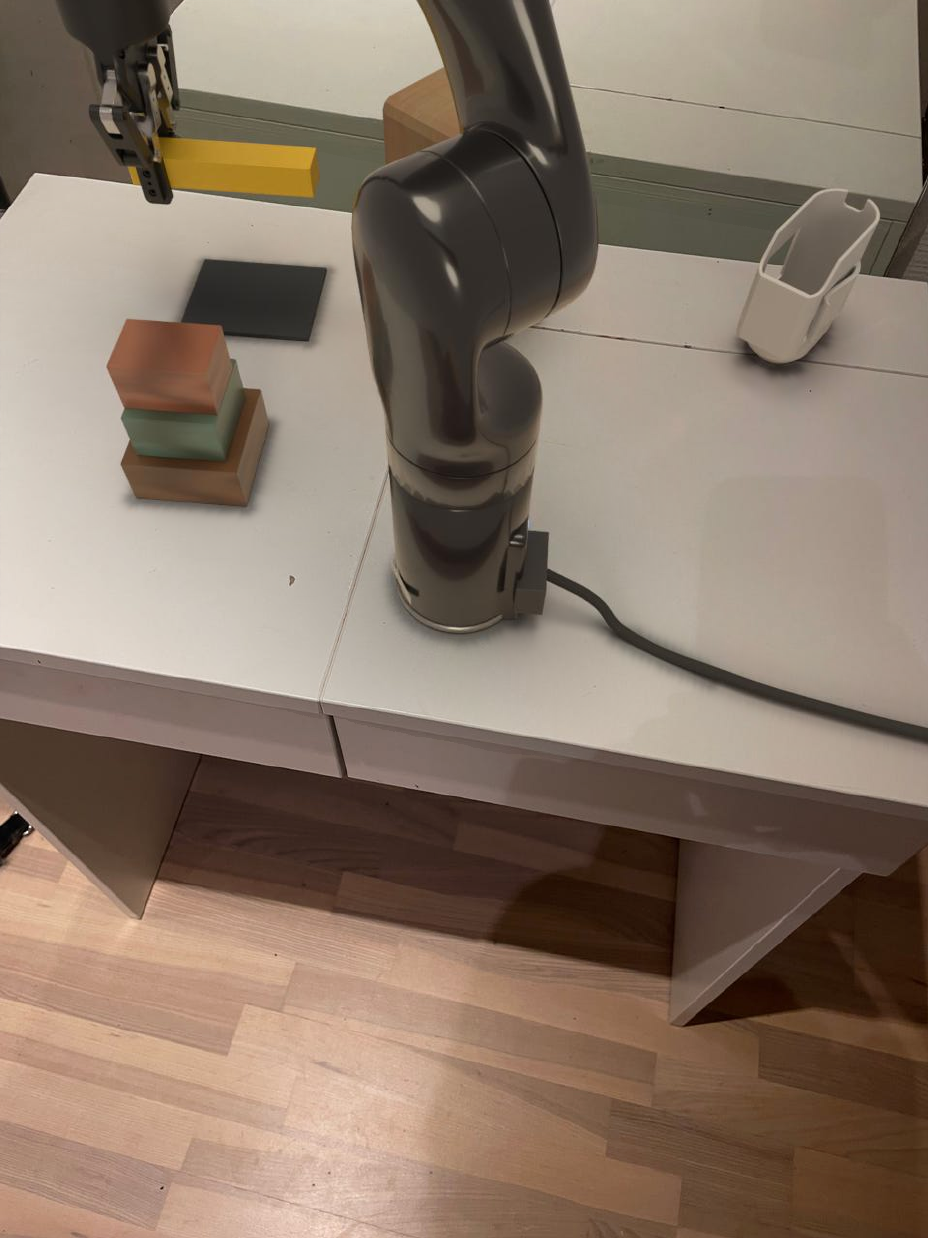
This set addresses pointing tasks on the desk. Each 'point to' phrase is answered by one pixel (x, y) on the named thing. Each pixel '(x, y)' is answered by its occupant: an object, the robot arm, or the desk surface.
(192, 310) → the rubber mat
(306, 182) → the yellow bar
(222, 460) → the toy tower
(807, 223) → the cable organizer
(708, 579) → the desk surface
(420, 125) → the wooden block
